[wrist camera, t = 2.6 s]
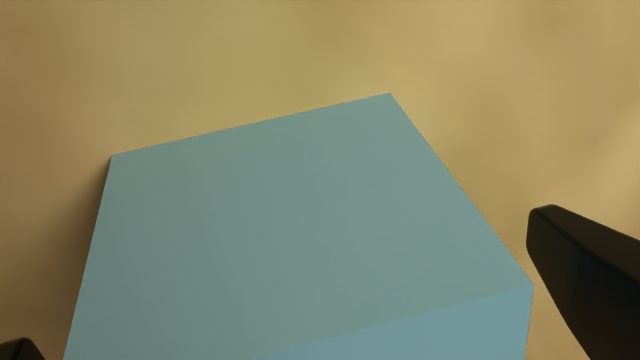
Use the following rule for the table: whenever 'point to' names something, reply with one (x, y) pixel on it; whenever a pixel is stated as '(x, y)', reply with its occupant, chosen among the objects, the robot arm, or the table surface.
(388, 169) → the teal cube
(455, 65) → the table surface
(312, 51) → the table surface
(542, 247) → the robot arm
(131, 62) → the table surface
